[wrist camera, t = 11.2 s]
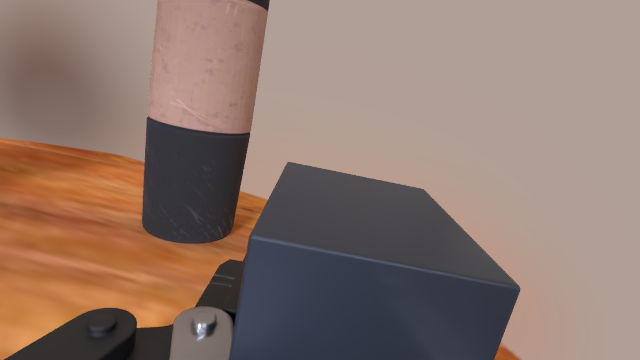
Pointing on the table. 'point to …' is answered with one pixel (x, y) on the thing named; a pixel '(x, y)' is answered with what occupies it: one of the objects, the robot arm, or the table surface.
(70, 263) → the table surface
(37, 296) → the table surface
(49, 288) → the table surface
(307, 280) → the slate block
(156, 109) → the travel mug
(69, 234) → the table surface
